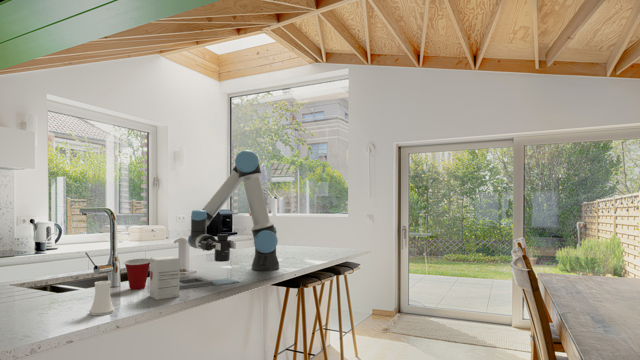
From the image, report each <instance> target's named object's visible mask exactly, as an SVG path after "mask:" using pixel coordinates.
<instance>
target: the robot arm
mask: <svg viewBox="0 0 640 360" xmlns="http://www.w3.org/2000/svg"><path fill="white" fill-rule="evenodd" d="M259 161H260V160H259V156H258V155H257V154H256V152H254V151H252V150H249V149H245V150H241V151H239V152H238V153H237V155H236V156H235V159H234V163H235V166H234V167H233V169H231V173H230V175H229V176H228V177H227V178H226V180H225V181H224V182H223V184H221V186H220V187H219V188H218V190H217V191H216V192H215V193H214V195H213V196H212V197H211V198H210V199H209V201H207V203H206V204H205V205H204V207H203V208H202V209H201V210H198V209H197V210H192V211H191V216H190V218H191V219H190V235H188V237H187V244H188V245H189V246H190V247H192V248H193V249H199V250H202V251H207V252H211V251H212V250H215V249H217V250H220V247H221V244H219V243H215V242H216V241H217V240H218V239H216V238H215V236H213V235H211V234H207V227H209V225H210V223H211V222H212V221H213V219H214V218H215V216H216V215H217V214H218V213H219V211H220V210H221V209H222V208H223V207H224V205H225V204H226V203H227V202H228V200H229V199H230V198H231V196H232V195H233V194H234V193H235V192H236V191H237V190H238V188H239V187H240V186H241V185H242V183H243V186H244V191H245V194H246V200H247V202H248V208H249V211H250V216H251V219H252V220H251V221H252V225H253V226H252V228H251V232H252V233H251V234H252V238H253V246H254V257H253V260H252V264H251V270H252V271H262V272H263V271H276V270H279V269H280V263H279V260H278V256H277V246H278V241H279V240H278V237H277V228H276V227H275V225H274V223H273V222H271V221H270V217H269V213H268V209H267V204H266V201H265V196H264V192H263V188H262V184H261V180H260V177H261V175H262V170H261V165H260V162H259ZM228 240H229V239H228ZM229 241H230V249H233V250H236V247H237V246H236V242H235V241H232V240H229Z"/></svg>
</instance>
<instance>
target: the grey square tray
mask: <svg viewBox="0 0 640 360" xmlns="http://www.w3.org/2000/svg"><path fill="white" fill-rule="evenodd" d="M207 286H213V284H212V281H209V279H207V278H203V277H200V276H198V277H189V278H183V279H180V281H179V290H186V289H192V288H199V287H207Z"/></svg>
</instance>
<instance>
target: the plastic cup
mask: <svg viewBox="0 0 640 360" xmlns="http://www.w3.org/2000/svg"><path fill="white" fill-rule="evenodd" d="M123 264H124V265H125V269H126V274H127V280H128V285H129V286H128V287H129V289H130V290H131V291H133V290H134V291H138V290H144V289H145V287H146V283H147V279H148V274H149V271H150V258H133V259H132V258H131V259H127V260H125V261H123Z"/></svg>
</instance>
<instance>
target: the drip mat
mask: <svg viewBox="0 0 640 360" xmlns="http://www.w3.org/2000/svg"><path fill="white" fill-rule="evenodd" d="M208 280H209V279H208ZM209 281H212V286H215V287H218V286H225V285H233V284H239V283H240V281H239V280H235V279H233V278H229V277H225V278H218V279H211V280H209Z"/></svg>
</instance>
